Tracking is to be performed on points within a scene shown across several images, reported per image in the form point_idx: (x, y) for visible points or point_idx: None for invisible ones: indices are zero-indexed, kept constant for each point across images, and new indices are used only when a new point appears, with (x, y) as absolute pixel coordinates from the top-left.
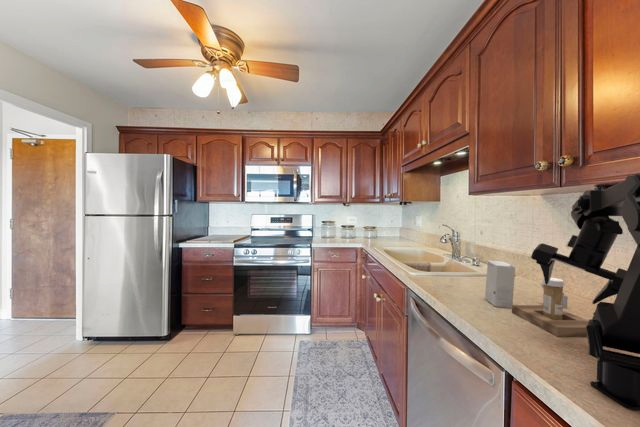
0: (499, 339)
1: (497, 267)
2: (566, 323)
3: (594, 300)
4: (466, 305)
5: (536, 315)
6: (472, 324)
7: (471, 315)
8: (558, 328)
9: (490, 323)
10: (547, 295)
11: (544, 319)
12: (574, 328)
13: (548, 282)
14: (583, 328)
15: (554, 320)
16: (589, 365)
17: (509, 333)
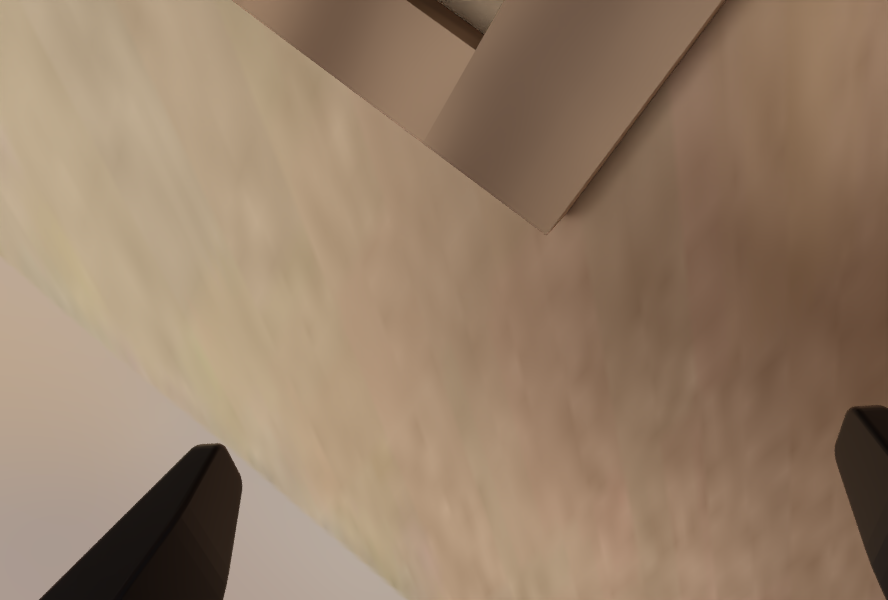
0: (373, 528)
1: None
2: (577, 37)
3: (877, 562)
4: (8, 115)
5: (351, 49)
6: (214, 429)
7: (133, 290)
8: (553, 225)
9: (244, 335)
10: None
11: (425, 109)
12: (650, 92)
13: (219, 469)
14: (718, 4)
15: (485, 49)
16: (780, 551)
17: (366, 409)
